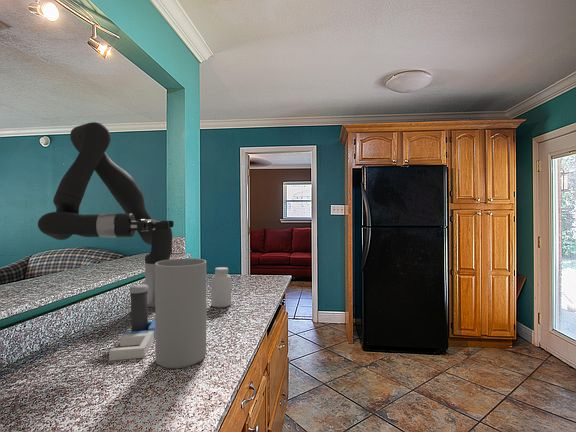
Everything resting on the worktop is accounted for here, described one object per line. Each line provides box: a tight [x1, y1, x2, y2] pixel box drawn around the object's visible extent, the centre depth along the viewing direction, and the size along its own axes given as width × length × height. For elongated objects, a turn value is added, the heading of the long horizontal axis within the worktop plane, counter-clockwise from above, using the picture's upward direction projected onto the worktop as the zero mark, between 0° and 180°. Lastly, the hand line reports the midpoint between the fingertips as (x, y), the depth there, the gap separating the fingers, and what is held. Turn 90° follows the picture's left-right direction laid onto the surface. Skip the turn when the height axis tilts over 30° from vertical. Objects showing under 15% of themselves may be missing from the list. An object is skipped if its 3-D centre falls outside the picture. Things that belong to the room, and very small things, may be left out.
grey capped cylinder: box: [129, 284, 149, 332], centre depth 95 cm, size 5×5×15 cm
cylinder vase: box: [154, 257, 207, 369], centre depth 81 cm, size 12×12×25 cm
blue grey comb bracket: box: [108, 319, 155, 362], centre depth 90 cm, size 8×21×3 cm, turn 12°
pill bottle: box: [210, 266, 232, 308], centre depth 126 cm, size 8×8×15 cm
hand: (171, 224), depth 100 cm, fingers open, 8 cm apart
